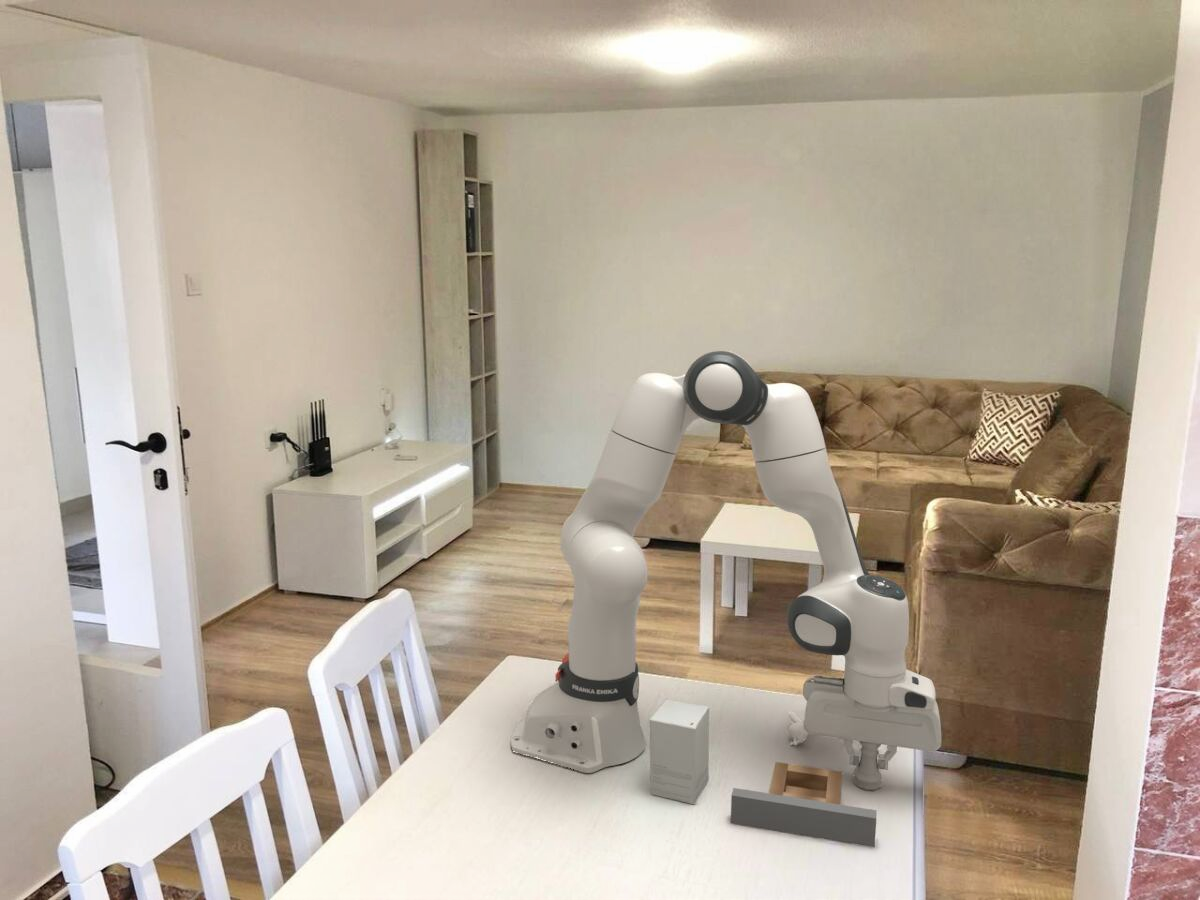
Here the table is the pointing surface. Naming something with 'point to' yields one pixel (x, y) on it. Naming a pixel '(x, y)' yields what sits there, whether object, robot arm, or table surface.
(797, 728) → the rabbit figurine
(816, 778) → the socket block
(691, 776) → the supplement box
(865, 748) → the rook chess piece
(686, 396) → the robot arm
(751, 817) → the backstop board
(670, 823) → the table surface
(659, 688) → the table surface
